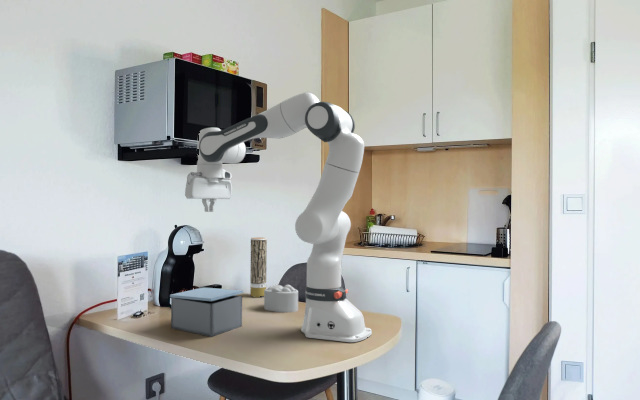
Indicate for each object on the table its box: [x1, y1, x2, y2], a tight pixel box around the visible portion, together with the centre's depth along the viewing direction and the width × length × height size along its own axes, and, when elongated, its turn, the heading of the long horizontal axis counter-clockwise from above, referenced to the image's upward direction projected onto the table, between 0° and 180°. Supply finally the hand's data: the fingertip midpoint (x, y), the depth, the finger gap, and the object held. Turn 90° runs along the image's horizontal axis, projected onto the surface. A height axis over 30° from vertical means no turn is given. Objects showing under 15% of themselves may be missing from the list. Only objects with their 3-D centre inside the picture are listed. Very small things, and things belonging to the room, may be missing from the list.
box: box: [170, 294, 243, 338], centre depth 150 cm, size 18×14×10 cm
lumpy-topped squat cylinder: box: [263, 284, 299, 313], centre depth 176 cm, size 10×13×9 cm
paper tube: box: [249, 236, 268, 298], centre depth 198 cm, size 7×7×25 cm
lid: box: [169, 287, 244, 301], centre depth 150 cm, size 18×15×1 cm
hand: (209, 211), depth 165 cm, fingers closed
